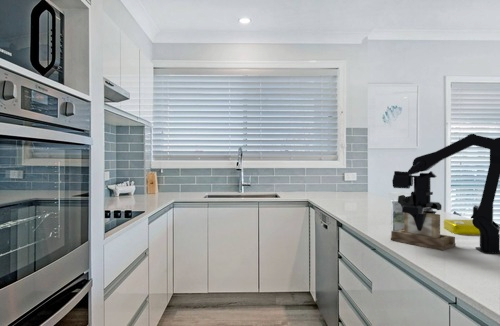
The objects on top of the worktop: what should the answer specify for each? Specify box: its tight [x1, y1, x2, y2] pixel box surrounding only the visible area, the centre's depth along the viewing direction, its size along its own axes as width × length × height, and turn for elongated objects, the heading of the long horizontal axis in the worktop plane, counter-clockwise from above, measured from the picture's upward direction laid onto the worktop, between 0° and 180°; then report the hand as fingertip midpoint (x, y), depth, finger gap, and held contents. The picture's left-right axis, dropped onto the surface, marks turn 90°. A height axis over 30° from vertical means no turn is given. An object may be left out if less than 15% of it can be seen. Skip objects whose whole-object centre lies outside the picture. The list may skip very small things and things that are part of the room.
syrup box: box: [390, 199, 404, 232], centre depth 153 cm, size 6×6×14 cm
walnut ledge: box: [390, 229, 457, 251], centre depth 136 cm, size 20×10×4 cm, turn 37°
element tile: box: [443, 218, 480, 236], centre depth 158 cm, size 15×15×5 cm
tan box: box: [404, 213, 441, 238], centre depth 136 cm, size 12×4×9 cm, turn 37°
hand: (422, 230), depth 136 cm, fingers closed on tan box, 4 cm apart
